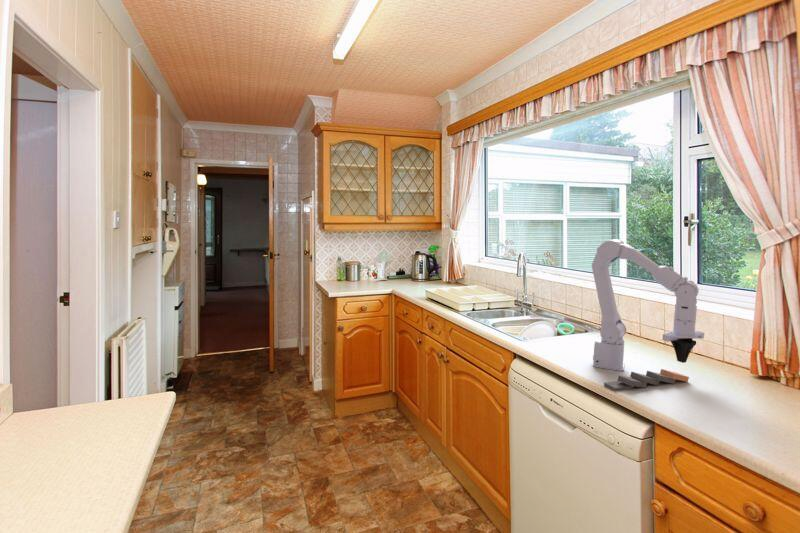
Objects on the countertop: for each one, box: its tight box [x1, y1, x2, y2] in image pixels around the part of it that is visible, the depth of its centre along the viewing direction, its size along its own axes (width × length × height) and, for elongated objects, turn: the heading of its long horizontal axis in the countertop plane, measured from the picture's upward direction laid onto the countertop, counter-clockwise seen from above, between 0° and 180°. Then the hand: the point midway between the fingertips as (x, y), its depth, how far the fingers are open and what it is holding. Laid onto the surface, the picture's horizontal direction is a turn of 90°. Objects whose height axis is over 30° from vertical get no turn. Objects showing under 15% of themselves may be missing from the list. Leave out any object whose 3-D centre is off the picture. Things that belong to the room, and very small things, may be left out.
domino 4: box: [645, 370, 676, 385], centre depth 137 cm, size 2×4×7 cm
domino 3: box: [629, 371, 660, 386], centre depth 135 cm, size 2×4×7 cm
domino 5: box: [659, 368, 690, 383], centre depth 138 cm, size 2×4×7 cm
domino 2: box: [617, 375, 648, 389], centre depth 133 cm, size 2×4×7 cm
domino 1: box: [603, 380, 635, 392], centre depth 133 cm, size 2×4×7 cm
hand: (681, 361), depth 139 cm, fingers closed
